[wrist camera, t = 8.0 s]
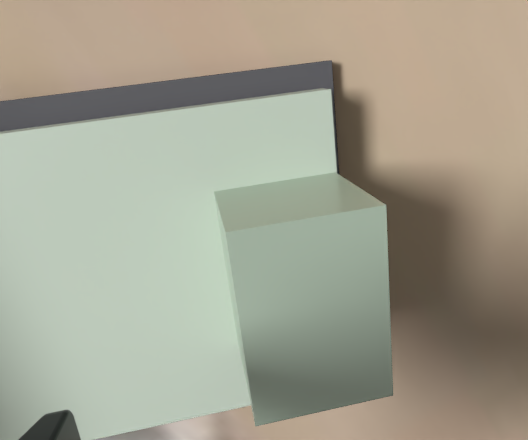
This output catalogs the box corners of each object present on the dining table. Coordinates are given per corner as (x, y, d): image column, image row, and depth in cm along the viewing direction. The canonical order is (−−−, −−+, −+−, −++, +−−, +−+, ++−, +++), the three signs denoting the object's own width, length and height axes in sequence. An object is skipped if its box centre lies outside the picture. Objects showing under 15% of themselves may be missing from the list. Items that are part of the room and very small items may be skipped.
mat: (327, 60, 14) (331, 60, 14) (348, 369, 17) (352, 375, 17) (-188, 125, 12) (-200, 126, 12) (-49, 453, 16) (-55, 462, 15)
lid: (318, 87, 14) (384, 94, 9) (340, 362, 17) (397, 465, 12) (-147, 150, 12) (-334, 195, 8) (-30, 440, 15) (-115, 591, 11)
